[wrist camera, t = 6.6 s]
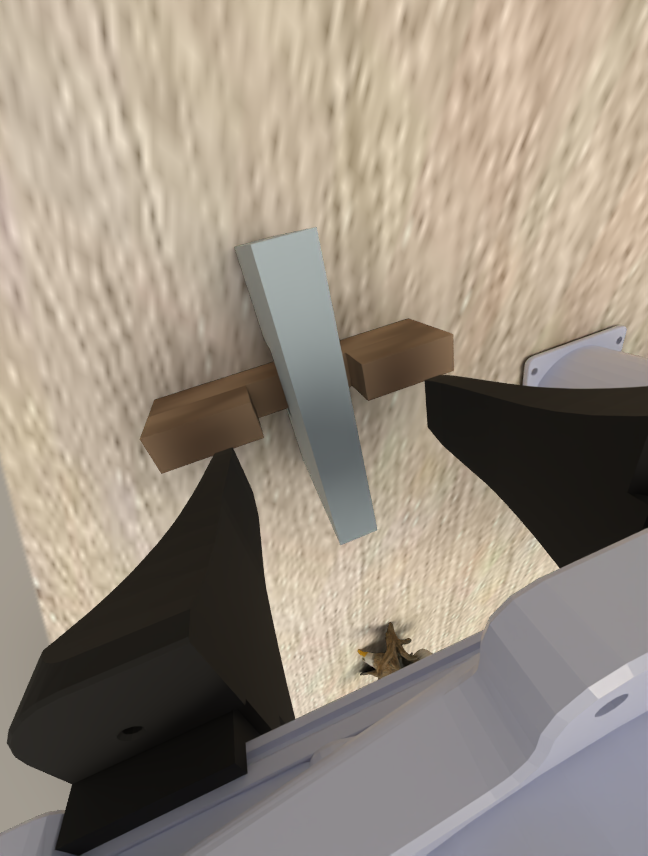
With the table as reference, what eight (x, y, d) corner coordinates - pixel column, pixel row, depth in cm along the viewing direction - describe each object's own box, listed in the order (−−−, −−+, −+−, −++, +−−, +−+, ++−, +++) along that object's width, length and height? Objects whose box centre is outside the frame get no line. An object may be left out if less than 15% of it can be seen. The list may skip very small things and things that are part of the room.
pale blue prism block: (330, 450, 21) (377, 529, 15) (303, 460, 21) (340, 545, 15) (273, 236, 15) (316, 226, 9) (234, 246, 14) (250, 244, 8)
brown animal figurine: (339, 646, 30) (334, 716, 32) (413, 702, 26) (400, 778, 28) (381, 597, 36) (374, 660, 38) (448, 636, 31) (434, 704, 34)
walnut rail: (408, 318, 18) (453, 334, 15) (411, 349, 19) (453, 370, 16) (154, 400, 16) (139, 439, 13) (171, 429, 17) (161, 473, 14)
